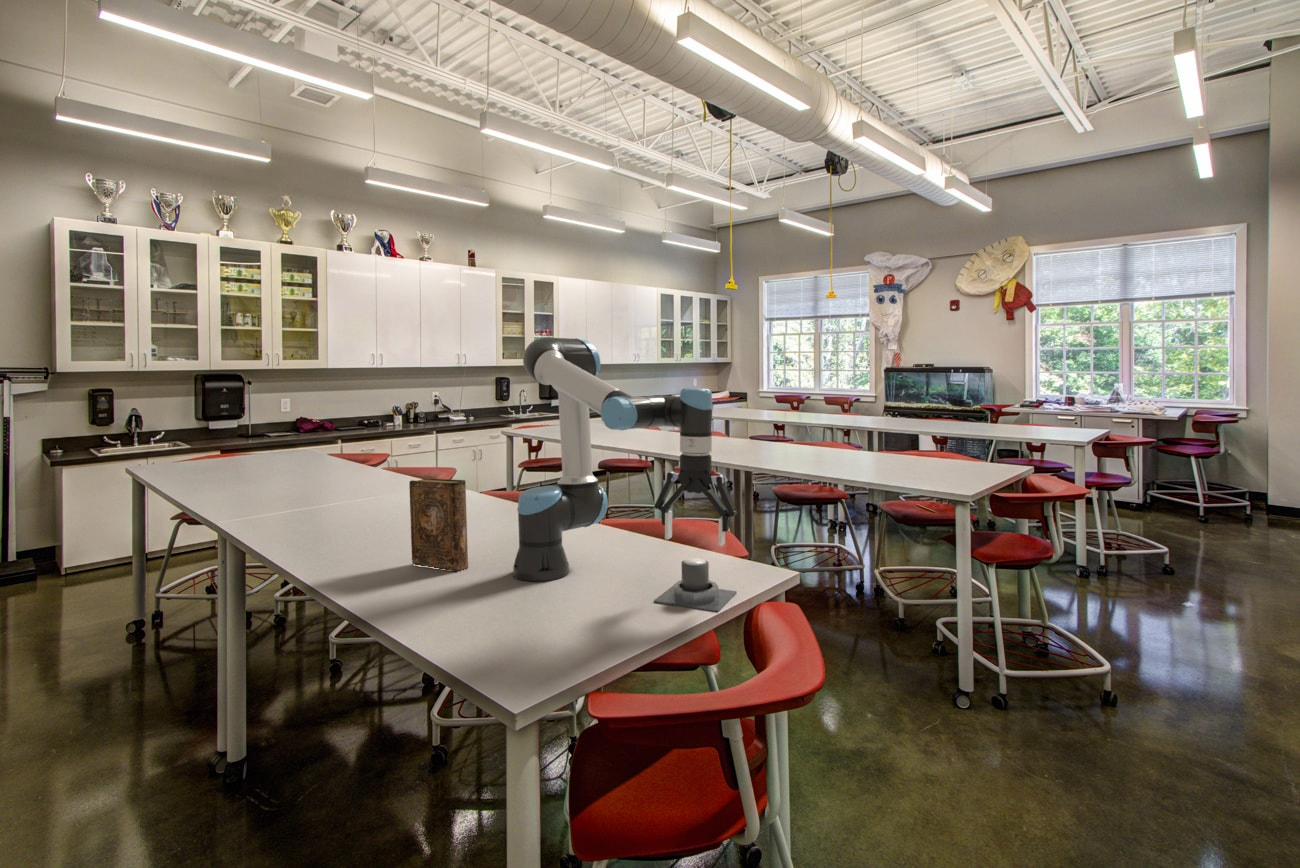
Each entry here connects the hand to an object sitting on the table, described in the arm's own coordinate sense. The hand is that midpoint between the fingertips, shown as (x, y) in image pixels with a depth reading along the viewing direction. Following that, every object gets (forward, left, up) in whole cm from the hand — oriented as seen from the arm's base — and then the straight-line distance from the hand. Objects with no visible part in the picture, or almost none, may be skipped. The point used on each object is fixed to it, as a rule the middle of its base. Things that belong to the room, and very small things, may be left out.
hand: (694, 541), depth 151 cm
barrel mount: (0, 0, -14) cm, 14 cm away
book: (-76, -4, -14) cm, 77 cm away
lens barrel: (0, 0, -13) cm, 13 cm away
